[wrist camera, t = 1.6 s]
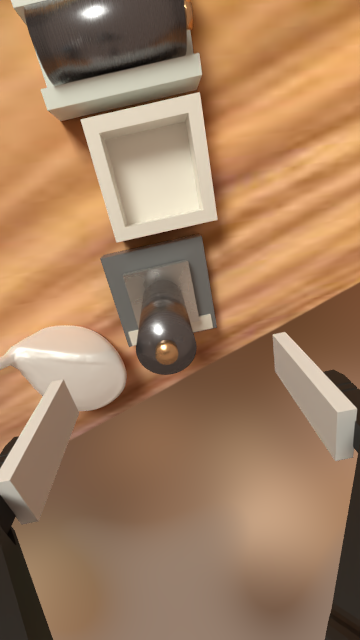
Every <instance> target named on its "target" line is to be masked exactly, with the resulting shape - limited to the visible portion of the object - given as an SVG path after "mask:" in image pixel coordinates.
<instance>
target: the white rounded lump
mask: <svg viewBox="0 0 360 640" xmlns="http://www.w3.org/2000/svg"><path fill="white" fill-rule="evenodd" d="M10 365H11V366H13V367H15V368H17V369H18V370H20V372H21V373H22V375H23V376H24V377H25V378H26V379H27V380H28V381H29V383H30V384H31V385H32V386H33V387H34V389H36V390H37V391H38V392H39V393H40V394H41V395H42V396H43V395H44V394H45V392H46V390H47V389H48V387H49V385H50V384H51V382H53V381H58V380H62V379H64V381H65V383H66V386H67V388H68V390H69V392H70V394H71V396H72V398H73V401H74V403H75V405H76V407H77V409H78V411H90V410H95V409H98V408H101V407H103V406H105V405H107V404H109V403H110V402H112V401H113V400H115V399H116V398H117V397H118V396H119V395H120V393H121V392H122V391H123V389H124V387H125V384H126V379H127V373H126V368H125V365H124V363H123V360H122V358H121V357H120V355H119V353H118V352H117V350H116V349H115V348H114V347H113V345H112V344H111V343H110V342H109V341H108V340H107V339H105V338H104V337H103V336H101V335H100V334H98V333H96V332H95V331H93V330H90V329H87V328H84V327H79V326H69V325H62V326H52V327H47V328H44V329H41V330H39V331H38V332H36V333H34V334H32V335H30V336H28V337H27V338H25V339H23V340H21V341H20V342H18V343H17V344H15V345H14V346H12V347H11V348H10V349H9V350H8V351H7V352H6V353H5V354H4V355H3V356H2V357H0V370H1V369H3V368H5V367H8V366H10Z"/></svg>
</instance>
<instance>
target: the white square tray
mask: <svg viewBox="0 0 360 640" xmlns="http://www.w3.org/2000/svg"><path fill="white" fill-rule="evenodd" d="M80 120H81V123H82V127H83V130H84V134H85V137H86V140H87V144H88V147H89V151H90V154H91V157H92V161H93V164H94V168H95V171H96V174H97V178H98V181H99V185H100V188H101V191H102V195H103V198H104V202H105V205H106V208H107V212H108V215H109V219H110V222H111V225H112V229H113V232H114V236H115V239H116V242H121V241H125V240H130V239H134V238H139V237H143V236H148V235H152V234H157V233H161V232H166V231H170V230H175V229H179V228H183V227H188V226H192V225H197V224H201V223H206V222H210V221H215V220H218V219H217V212H216V205H215V198H214V191H213V183H212V176H211V169H210V162H209V154H208V147H207V140H206V133H205V126H204V118H203V111H202V104H201V97H200V92H198V93H194V94H189V95H185V96H180V97H176V98H172V99H167V100H163V101H159V102H154V103H150V104H146V105H141V106H137V107H133V108H128V109H124V110H119V111H115V112H111V113H106V114H102V115H98V116H93V117H89V118H85V119H80Z"/></svg>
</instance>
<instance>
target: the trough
mask: <svg viewBox="0 0 360 640" xmlns="http://www.w3.org/2000/svg"><path fill="white" fill-rule="evenodd" d="M44 1H49V0H11V2H12V5H13V8H14V9H15V10H16V12H17V13H18V15H19V16H20V17H21V19H22V20H23V21H24V23H25V24H26V20H25V15H24V6H27V5H31V4H36V3H40V2H44ZM26 25H27V24H26ZM35 51H36V50H35ZM36 54H37V53H36ZM37 57H38V55H37ZM38 60H39V58H38ZM39 63H40V66H41V70H42V73H43V76H44V79H45V82H46V85H47V88H44V89H41V92H42V95H43V98H44V101H45V104H46V107H47V110H48V111H49V112H50V113H51V114H53V115H54V116H55V117H56V118H57V119H59V120H60V121H64V120H68V119H73V118H77V117H81V116H86V115H90V114H94V113H99V112H103V111H107V110H112V109H116V108H120V107H125V106H129V105H134V104H138V103H142V102H147V101H151V100H155V99H160V98H164V97H168V96H173V95H177V94H181V93H186V92H190V91H194V90H197V87H198V85H199V82H200V79H201V77H202V70H201V62H200V55H199V53H196V54H194V53H193V46H192V39H191V32H190V30H187V51H186V55H185V56H182V57H178V58H173V59H169V60H165V61H161V62H156V63H152V64H148V65H143V66H139V67H135V68H130V69H126V70H122V71H117V72H113V73H109V74H104V75H100V76H96V77H91V78H87V79H83V80H78V81H74V82H70V83H65V84H61V85H57V86H54V85H53V84H52V83H51V82H50V80H49V78H48V77H47V75H46V73H45V71H44V69H43V67H42V65H41V62H40V60H39Z"/></svg>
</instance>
